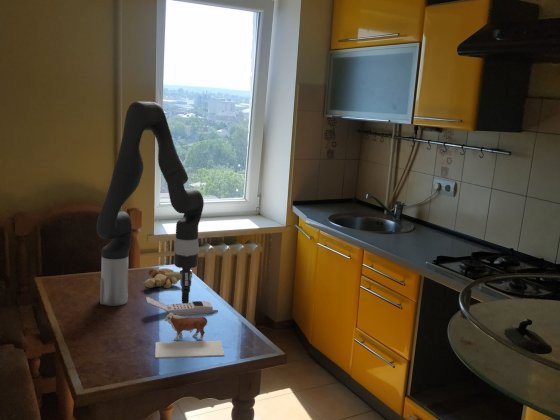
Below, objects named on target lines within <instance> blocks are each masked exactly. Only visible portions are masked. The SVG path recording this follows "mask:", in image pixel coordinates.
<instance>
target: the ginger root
mask: <svg viewBox="0 0 560 420" xmlns="http://www.w3.org/2000/svg"><path fill="white" fill-rule="evenodd" d="M148 275H149V277H150V278H148V279H146V280H145V281H144V282H143V283H142V285H143V286H145V287H147V288H149V289H152V288H156V287H160V288H161V287H163V288H166V289H170V288H171V287H172V286H173V285H177V284H178V282H180V271H174V270H173V269H171V268H168V267H167V268H159V269H156V268H154V267H152V268H151V267H150V268H149V269H148Z"/></svg>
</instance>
